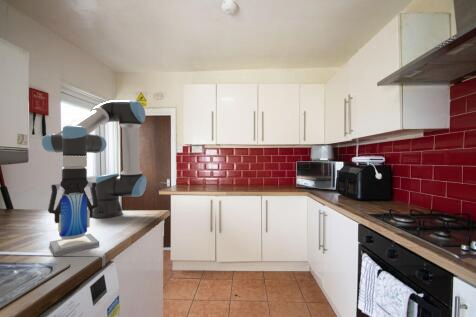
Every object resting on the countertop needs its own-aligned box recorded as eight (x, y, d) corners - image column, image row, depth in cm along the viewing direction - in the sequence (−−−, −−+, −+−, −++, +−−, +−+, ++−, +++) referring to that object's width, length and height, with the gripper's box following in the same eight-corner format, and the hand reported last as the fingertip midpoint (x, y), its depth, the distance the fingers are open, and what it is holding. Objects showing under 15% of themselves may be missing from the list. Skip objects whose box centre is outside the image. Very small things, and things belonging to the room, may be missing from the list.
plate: (90, 237, 95) (90, 233, 95) (99, 245, 86) (99, 241, 86) (49, 245, 85) (49, 241, 85) (54, 256, 76) (54, 251, 76)
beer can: (89, 236, 85) (89, 193, 85) (61, 242, 79) (61, 195, 79) (84, 231, 91) (84, 191, 91) (57, 236, 85) (57, 193, 85)
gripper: (102, 166, 95) (102, 221, 95) (37, 168, 81) (36, 233, 81) (108, 167, 90) (108, 225, 90) (39, 168, 75) (38, 238, 75)
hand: (74, 228), depth 85 cm, fingers closed on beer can, 8 cm apart
